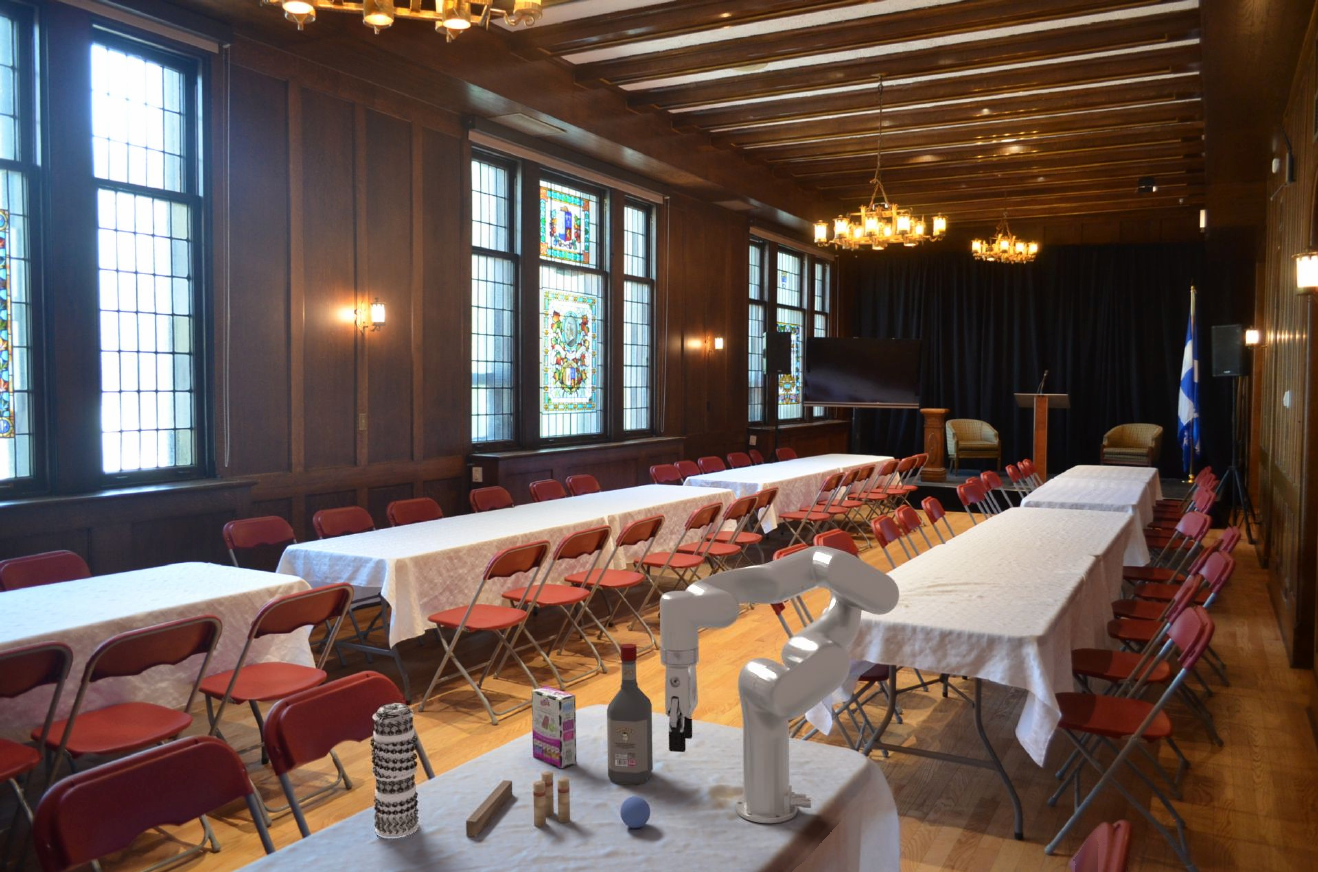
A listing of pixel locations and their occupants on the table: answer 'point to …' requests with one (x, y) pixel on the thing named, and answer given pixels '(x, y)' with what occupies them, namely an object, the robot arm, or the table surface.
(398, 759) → the decorative candle
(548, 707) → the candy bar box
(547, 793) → the pin
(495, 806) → the rail
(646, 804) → the ball
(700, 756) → the table surface
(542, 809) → the pin
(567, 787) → the front pin
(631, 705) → the liquor
